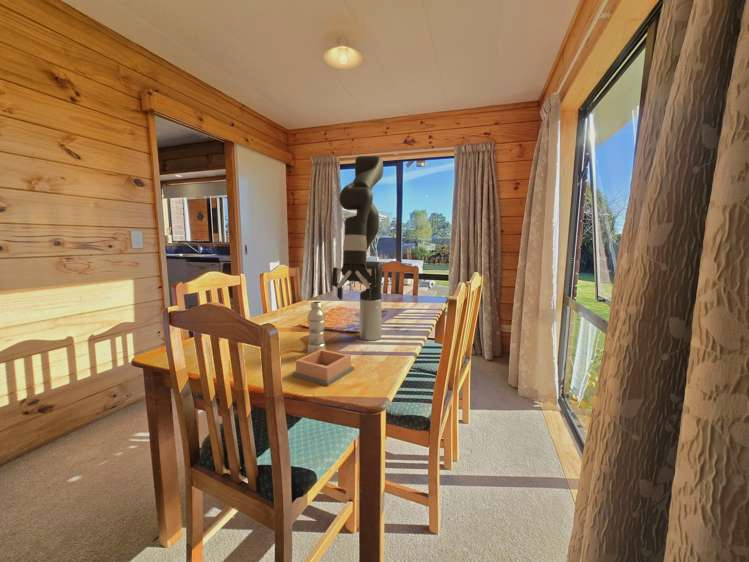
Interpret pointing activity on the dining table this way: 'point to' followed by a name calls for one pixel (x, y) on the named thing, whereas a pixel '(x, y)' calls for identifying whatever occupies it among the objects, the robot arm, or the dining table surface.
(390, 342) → the dining table surface
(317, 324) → the grey tall ridged piece
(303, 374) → the collar stand
